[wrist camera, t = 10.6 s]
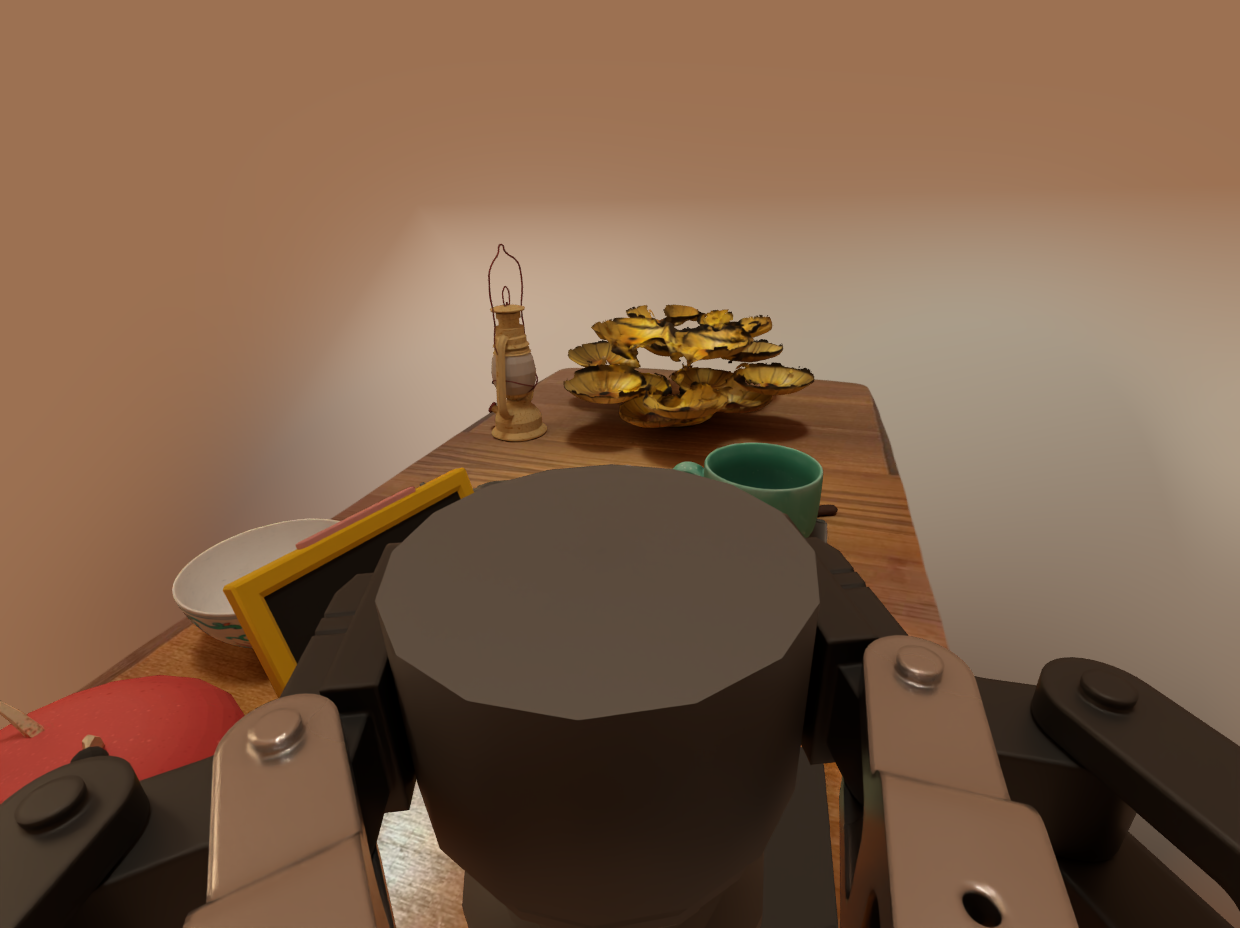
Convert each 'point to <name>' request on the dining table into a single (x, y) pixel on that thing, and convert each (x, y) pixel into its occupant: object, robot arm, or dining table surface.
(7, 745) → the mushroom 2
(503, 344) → the lantern
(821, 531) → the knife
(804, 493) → the mug
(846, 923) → the robot arm
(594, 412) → the dining table surface
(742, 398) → the mushroom
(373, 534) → the yellow framed monitor
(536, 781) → the candle holder
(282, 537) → the chinaware
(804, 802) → the phone
